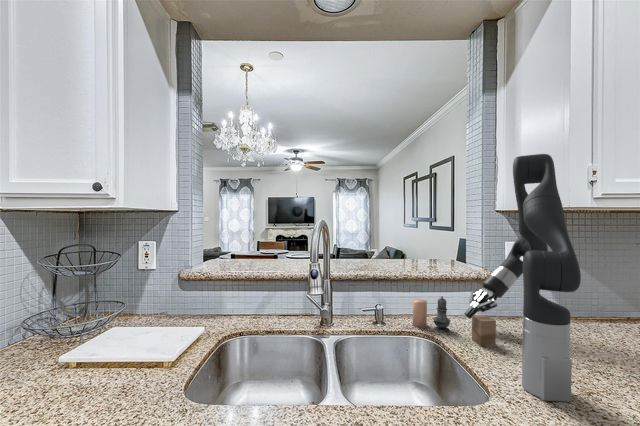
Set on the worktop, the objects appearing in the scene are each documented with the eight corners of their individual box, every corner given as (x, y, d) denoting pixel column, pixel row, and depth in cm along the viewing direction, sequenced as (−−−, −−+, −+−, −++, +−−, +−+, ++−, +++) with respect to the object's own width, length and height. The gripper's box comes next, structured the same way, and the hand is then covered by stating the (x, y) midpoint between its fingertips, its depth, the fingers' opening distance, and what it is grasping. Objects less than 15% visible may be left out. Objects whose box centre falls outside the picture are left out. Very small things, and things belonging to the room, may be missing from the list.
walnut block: (495, 345, 103) (496, 320, 102) (480, 346, 102) (480, 321, 102) (486, 339, 108) (486, 315, 107) (471, 339, 107) (472, 315, 107)
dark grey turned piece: (447, 334, 112) (448, 299, 112) (430, 330, 115) (431, 296, 115) (452, 328, 117) (452, 295, 116) (435, 325, 120) (436, 292, 120)
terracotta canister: (428, 327, 117) (428, 303, 117) (414, 327, 118) (414, 302, 118) (424, 323, 122) (425, 299, 122) (411, 322, 123) (411, 298, 123)
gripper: (481, 270, 124) (450, 303, 123) (505, 278, 111) (470, 315, 110) (494, 284, 125) (463, 317, 124) (519, 293, 111) (485, 330, 110)
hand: (467, 316), depth 117 cm, fingers closed
